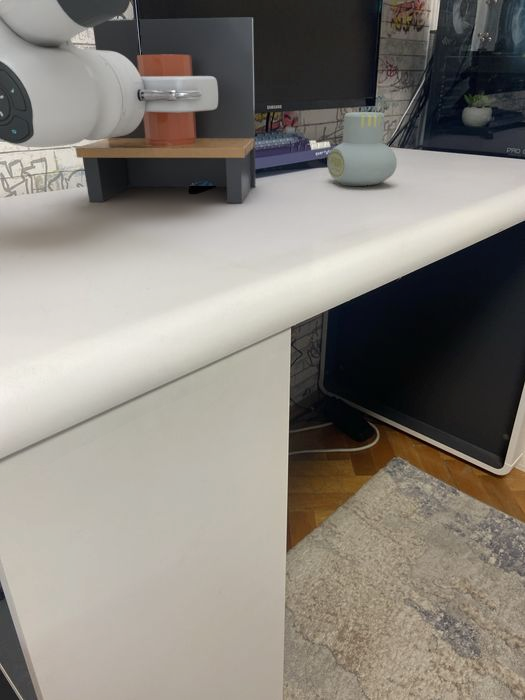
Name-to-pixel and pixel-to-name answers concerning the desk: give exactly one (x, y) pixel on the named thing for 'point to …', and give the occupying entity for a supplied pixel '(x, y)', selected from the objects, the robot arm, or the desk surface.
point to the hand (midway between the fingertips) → (167, 91)
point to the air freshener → (362, 151)
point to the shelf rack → (211, 126)
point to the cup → (167, 124)
